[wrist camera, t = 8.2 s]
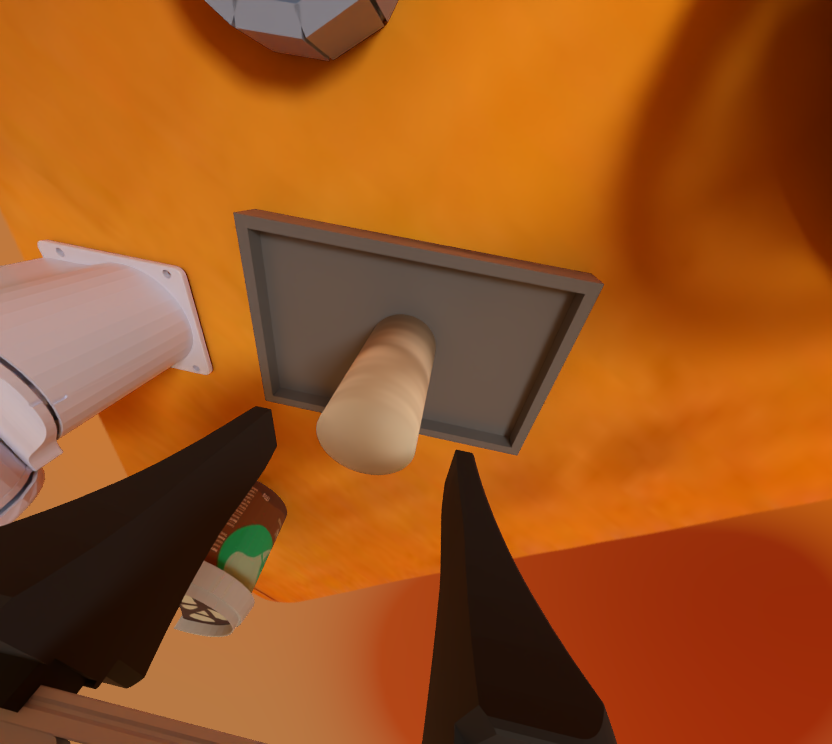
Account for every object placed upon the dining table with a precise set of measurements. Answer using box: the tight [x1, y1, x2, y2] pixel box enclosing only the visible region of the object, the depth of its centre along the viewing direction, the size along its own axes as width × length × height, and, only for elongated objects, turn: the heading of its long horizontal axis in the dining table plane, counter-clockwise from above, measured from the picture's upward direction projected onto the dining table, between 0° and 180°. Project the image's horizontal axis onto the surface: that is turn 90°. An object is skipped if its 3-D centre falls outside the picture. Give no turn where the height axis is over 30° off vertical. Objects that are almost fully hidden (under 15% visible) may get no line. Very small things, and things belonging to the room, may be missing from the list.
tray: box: [234, 209, 604, 455], centre depth 18 cm, size 18×12×2 cm, turn 81°
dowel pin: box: [316, 314, 436, 475], centre depth 15 cm, size 4×4×8 cm
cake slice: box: [174, 481, 287, 637], centre depth 29 cm, size 12×6×10 cm, turn 160°
